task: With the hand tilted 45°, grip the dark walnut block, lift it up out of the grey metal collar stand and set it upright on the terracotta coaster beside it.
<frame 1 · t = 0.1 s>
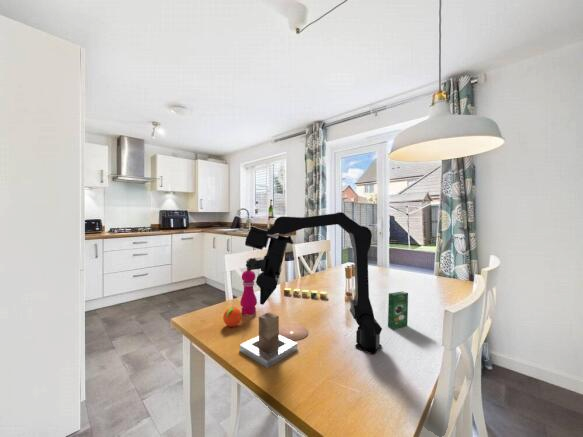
hand: (263, 299, 82), 15 cm above the table, tool pointing down, fingers open, 9 cm apart
yellow cube row: (305, 298, 129), on the table
clementine: (231, 326, 96), on the table
coffee box: (397, 326, 96), on the table
terracotta coaster: (292, 332, 91), on the table
pepper mill: (248, 312, 110), on the table
metal collar stand: (268, 350, 79), on the table
walnut block: (268, 333, 79), in the metal collar stand
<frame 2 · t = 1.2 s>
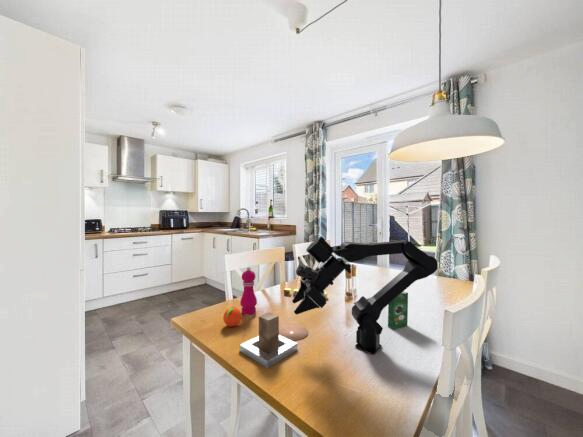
hand: (294, 307, 79), 14 cm above the table, tool tilted 45°, fingers open, 9 cm apart
nothing on the table moved.
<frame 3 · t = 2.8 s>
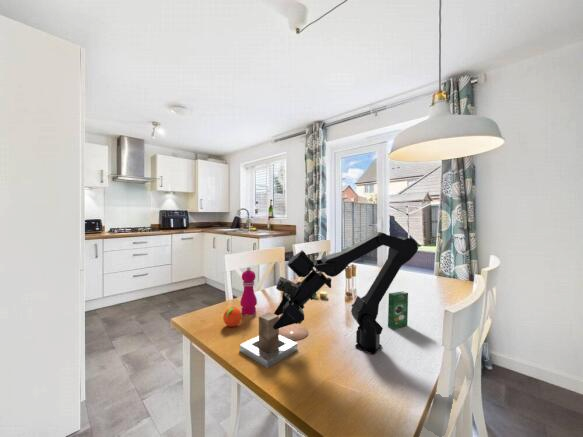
hand: (274, 321, 79), 9 cm above the table, tool tilted 45°, fingers open, 9 cm apart
nothing on the table moved.
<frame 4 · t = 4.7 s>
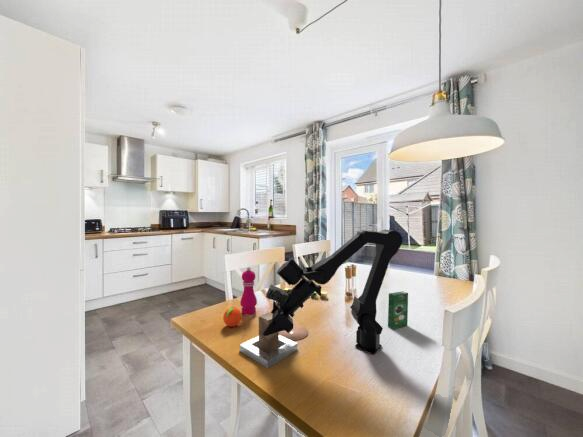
hand: (264, 329, 79), 7 cm above the table, tool tilted 45°, fingers closed on walnut block, 6 cm apart
walnut block: (268, 333, 79), in the metal collar stand, touching gripper
everything else where it was.
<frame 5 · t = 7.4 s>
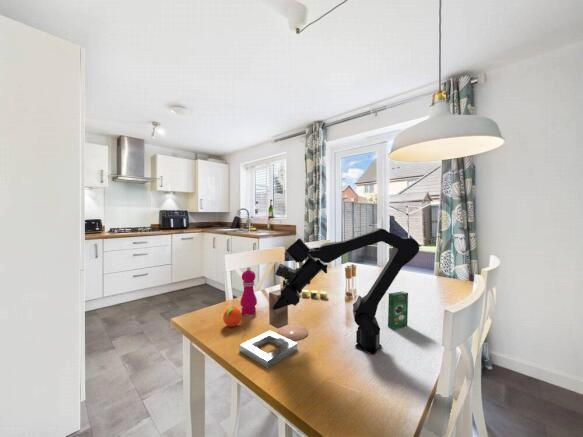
hand: (274, 305, 84), 12 cm above the table, tool tilted 45°, fingers closed on walnut block, 6 cm apart
walnut block: (278, 308, 84), point 11 cm above the table, touching gripper
everything else where it was.
when the fingers open (8 cm above the table, at t = 10.3 s): walnut block stays where it is, resting on terracotta coaster.
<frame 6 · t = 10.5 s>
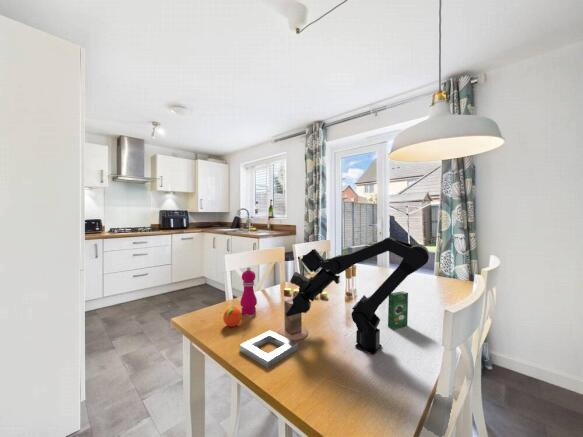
hand: (289, 310, 91), 8 cm above the table, tool tilted 45°, fingers open, 9 cm apart
walnut block: (292, 316, 91), on the terracotta coaster
everything else where it was.
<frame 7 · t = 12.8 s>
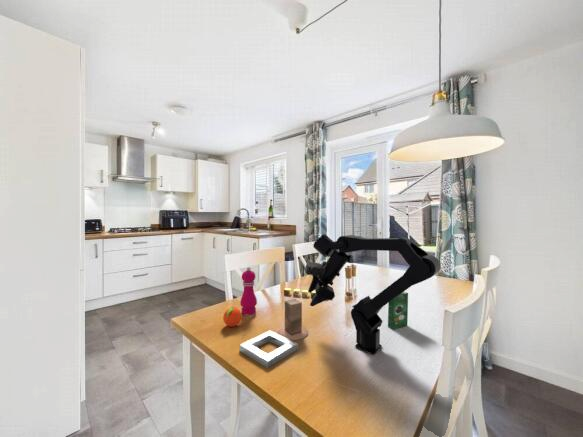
hand: (310, 298, 92), 12 cm above the table, tool tilted 35°, fingers open, 9 cm apart
nothing on the table moved.
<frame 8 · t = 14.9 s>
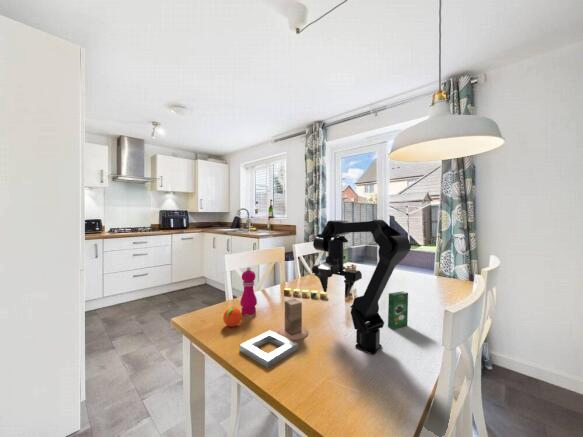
hand: (335, 294, 94), 13 cm above the table, tool pointing down, fingers open, 9 cm apart
nothing on the table moved.
at the end: walnut block 0.1 cm from the target spot, resting on terracotta coaster; walnut block tilted 0°; the gripper is holding nothing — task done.
